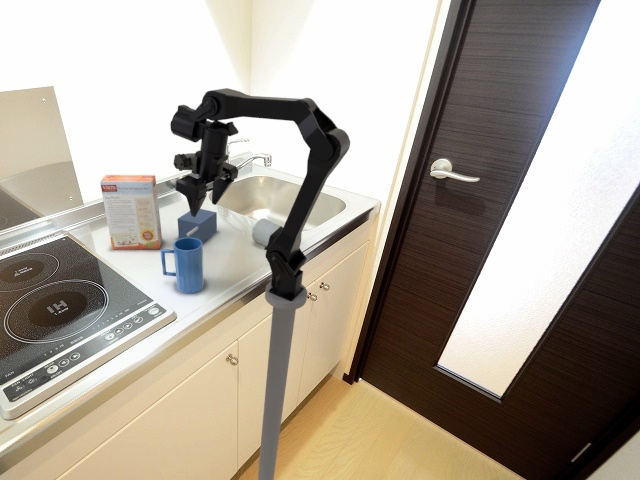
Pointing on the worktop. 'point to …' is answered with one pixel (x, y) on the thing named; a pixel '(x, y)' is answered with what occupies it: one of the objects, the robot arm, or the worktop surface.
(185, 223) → the slate-blue box
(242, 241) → the worktop surface
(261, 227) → the grey cylinder
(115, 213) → the cracker box
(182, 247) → the blue mug
